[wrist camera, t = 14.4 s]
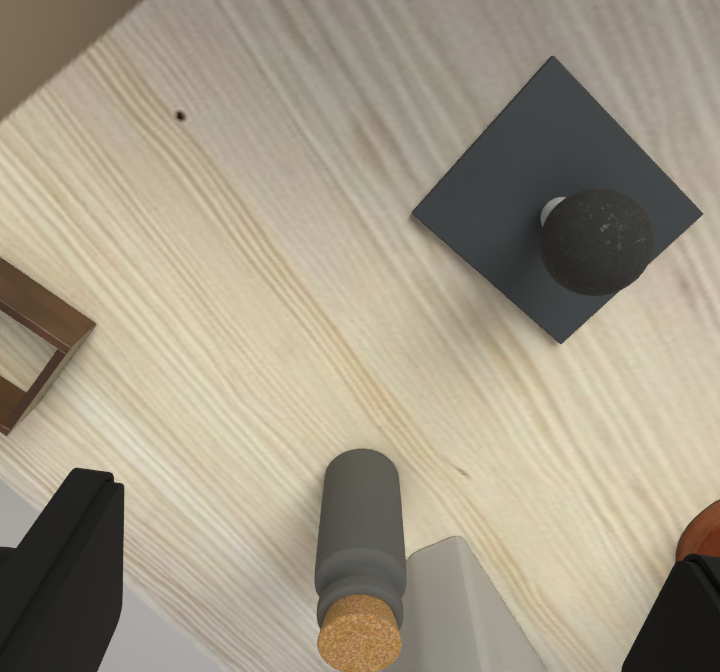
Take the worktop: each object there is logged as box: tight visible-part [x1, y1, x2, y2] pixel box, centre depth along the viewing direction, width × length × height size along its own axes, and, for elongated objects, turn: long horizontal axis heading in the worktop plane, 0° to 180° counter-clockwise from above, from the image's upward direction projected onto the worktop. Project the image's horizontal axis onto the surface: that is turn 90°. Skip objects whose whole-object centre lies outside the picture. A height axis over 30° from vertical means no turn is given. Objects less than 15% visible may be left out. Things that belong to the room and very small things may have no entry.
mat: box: [412, 56, 703, 344], centre depth 39 cm, size 14×12×1 cm
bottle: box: [315, 449, 407, 672], centre depth 40 cm, size 6×6×15 cm
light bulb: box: [539, 188, 654, 296], centre depth 34 cm, size 6×6×10 cm
